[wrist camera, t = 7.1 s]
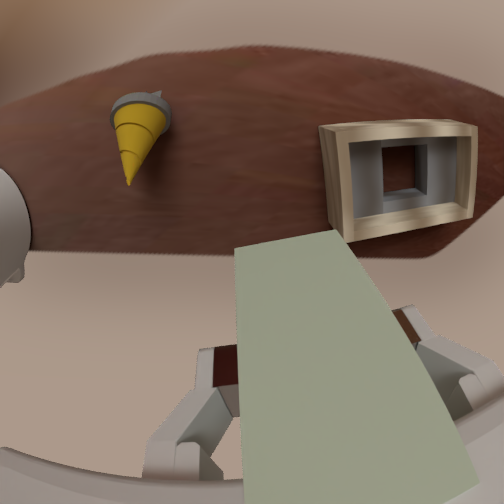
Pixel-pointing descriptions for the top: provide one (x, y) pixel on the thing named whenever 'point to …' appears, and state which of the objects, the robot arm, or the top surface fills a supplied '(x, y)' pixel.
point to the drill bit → (138, 127)
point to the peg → (334, 386)
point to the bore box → (401, 201)
